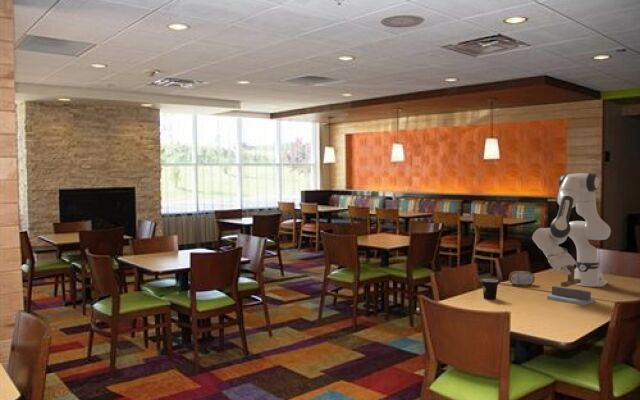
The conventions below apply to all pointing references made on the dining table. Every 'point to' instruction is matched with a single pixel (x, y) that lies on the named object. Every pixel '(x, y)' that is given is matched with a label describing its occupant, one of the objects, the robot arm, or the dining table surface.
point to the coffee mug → (489, 288)
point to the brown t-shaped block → (570, 278)
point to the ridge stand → (571, 295)
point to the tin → (521, 278)
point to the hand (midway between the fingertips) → (572, 273)
